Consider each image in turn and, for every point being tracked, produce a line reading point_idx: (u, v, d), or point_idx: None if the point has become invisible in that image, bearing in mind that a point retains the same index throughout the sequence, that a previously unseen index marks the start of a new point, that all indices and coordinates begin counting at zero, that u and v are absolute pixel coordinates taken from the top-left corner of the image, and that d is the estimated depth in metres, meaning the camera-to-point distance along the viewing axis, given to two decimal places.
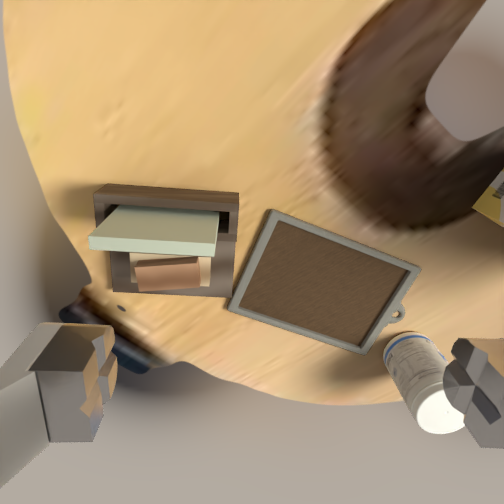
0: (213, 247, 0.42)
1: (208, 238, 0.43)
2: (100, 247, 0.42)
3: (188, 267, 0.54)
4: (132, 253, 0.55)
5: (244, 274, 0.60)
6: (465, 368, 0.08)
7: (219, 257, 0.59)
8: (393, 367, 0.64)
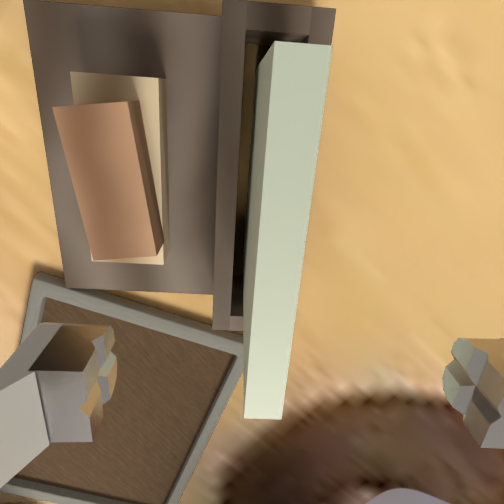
0: (271, 417, 0.16)
1: None
2: (283, 93, 0.11)
3: (143, 238, 0.23)
4: (156, 85, 0.22)
5: (124, 307, 0.31)
6: (465, 368, 0.08)
7: (155, 264, 0.29)
8: None
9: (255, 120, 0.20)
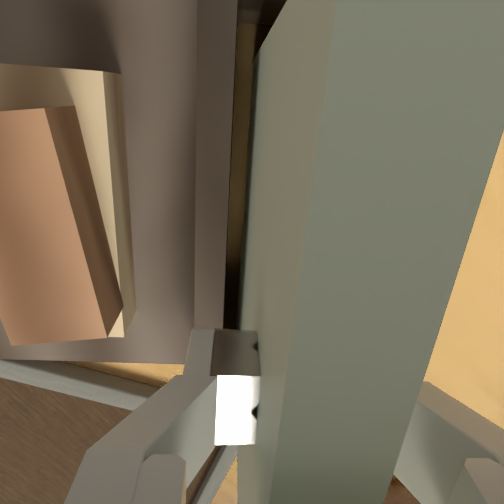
0: None
1: None
2: (367, 94, 0.03)
3: (84, 313, 0.15)
4: (100, 83, 0.14)
5: (78, 381, 0.23)
6: None
7: None
8: None
9: (254, 138, 0.13)
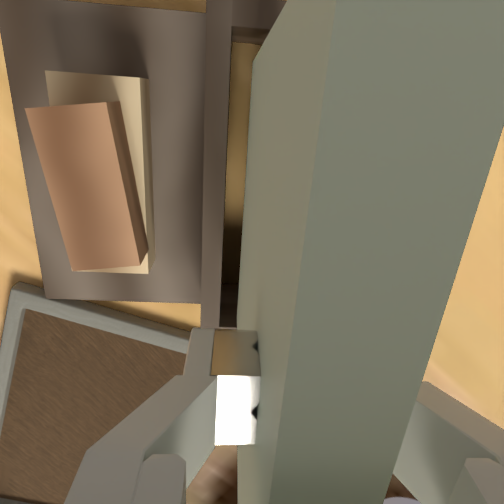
0: None
1: None
2: (367, 95, 0.03)
3: (125, 246, 0.21)
4: (138, 85, 0.20)
5: (108, 318, 0.29)
6: None
7: None
8: None
9: (254, 138, 0.13)
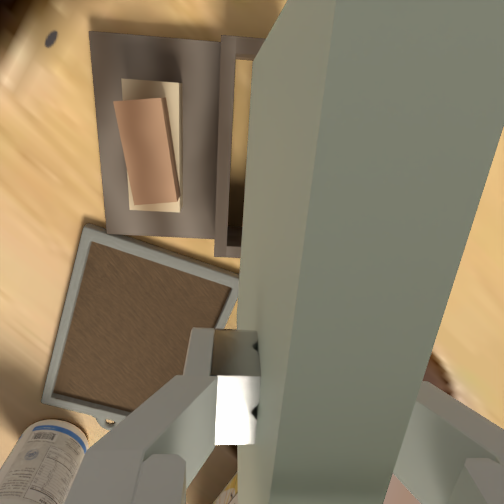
0: None
1: None
2: (367, 97, 0.03)
3: (168, 189, 0.34)
4: (177, 87, 0.33)
5: (149, 249, 0.42)
6: None
7: (172, 216, 0.40)
8: (37, 449, 0.48)
9: (254, 139, 0.13)
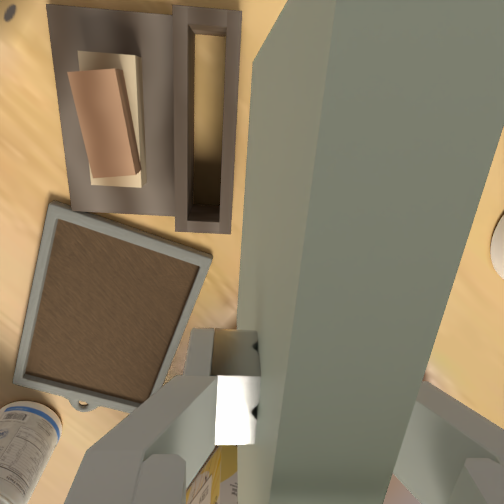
0: None
1: None
2: (366, 97, 0.03)
3: (126, 162, 0.34)
4: (134, 60, 0.33)
5: (115, 227, 0.42)
6: None
7: (136, 192, 0.40)
8: (7, 429, 0.48)
9: (254, 139, 0.13)
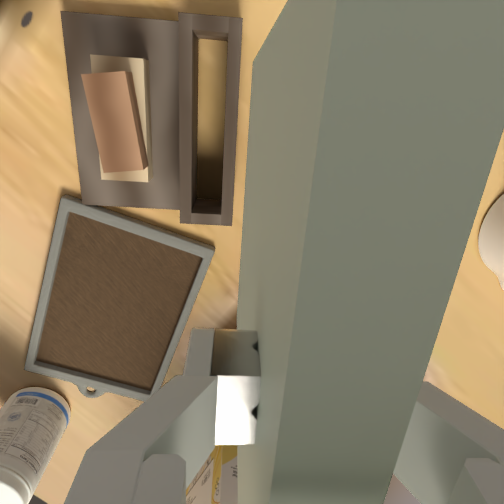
0: None
1: None
2: (367, 96, 0.03)
3: (134, 157, 0.37)
4: (142, 63, 0.36)
5: (123, 220, 0.45)
6: None
7: (143, 187, 0.43)
8: (19, 412, 0.50)
9: (254, 139, 0.13)
